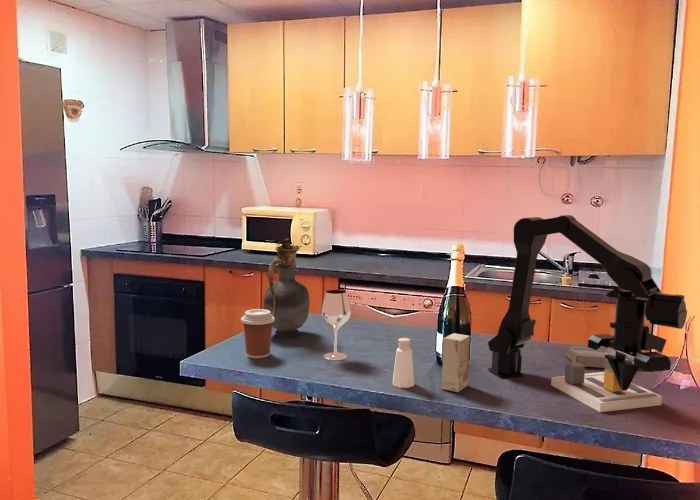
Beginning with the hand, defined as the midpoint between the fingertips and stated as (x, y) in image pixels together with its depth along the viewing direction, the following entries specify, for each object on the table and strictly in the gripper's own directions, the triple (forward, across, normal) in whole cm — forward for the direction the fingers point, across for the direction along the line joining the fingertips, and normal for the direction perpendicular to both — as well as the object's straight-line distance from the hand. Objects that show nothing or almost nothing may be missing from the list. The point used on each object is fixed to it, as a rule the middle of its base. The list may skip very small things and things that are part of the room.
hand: (624, 389), depth 130 cm
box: (+4, +27, -16) cm, 32 cm away
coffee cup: (+4, +56, +72) cm, 91 cm away
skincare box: (+4, +19, +31) cm, 37 cm away
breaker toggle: (+1, +3, 0) cm, 3 cm away
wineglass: (+4, +49, +52) cm, 72 cm away
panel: (+3, +6, 0) cm, 7 cm away
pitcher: (+4, +74, +62) cm, 96 cm away
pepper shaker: (+4, +24, +42) cm, 49 cm away
